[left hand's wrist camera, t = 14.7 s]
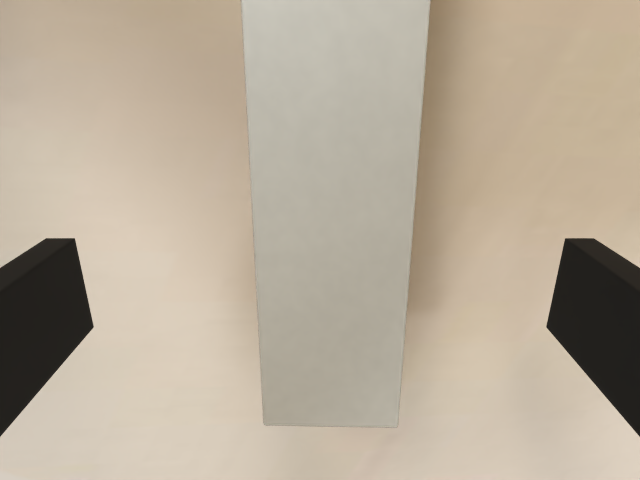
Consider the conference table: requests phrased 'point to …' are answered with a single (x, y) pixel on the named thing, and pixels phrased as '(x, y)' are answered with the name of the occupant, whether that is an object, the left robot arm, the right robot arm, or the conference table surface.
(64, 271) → the left robot arm
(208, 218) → the conference table surface
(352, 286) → the bar
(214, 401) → the conference table surface
